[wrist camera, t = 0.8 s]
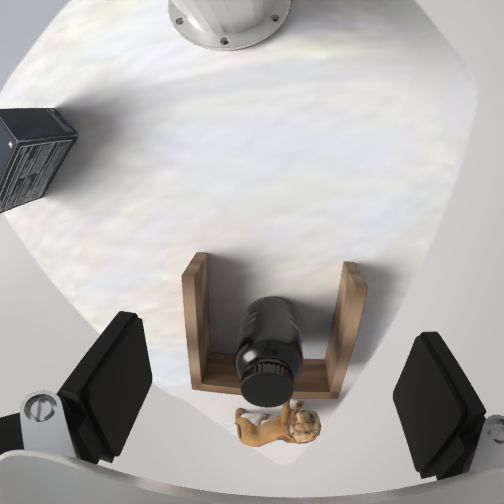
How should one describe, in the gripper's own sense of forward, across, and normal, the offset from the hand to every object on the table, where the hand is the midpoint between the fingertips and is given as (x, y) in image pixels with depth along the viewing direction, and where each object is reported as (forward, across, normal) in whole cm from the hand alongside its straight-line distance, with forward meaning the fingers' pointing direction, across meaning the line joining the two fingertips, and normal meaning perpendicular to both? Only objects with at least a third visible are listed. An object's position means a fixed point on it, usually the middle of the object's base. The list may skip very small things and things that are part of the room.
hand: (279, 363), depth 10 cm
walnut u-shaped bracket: (+24, 0, +13) cm, 27 cm away
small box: (+24, +29, -6) cm, 38 cm away
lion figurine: (+24, -2, +29) cm, 38 cm away
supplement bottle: (+24, 0, +14) cm, 28 cm away
